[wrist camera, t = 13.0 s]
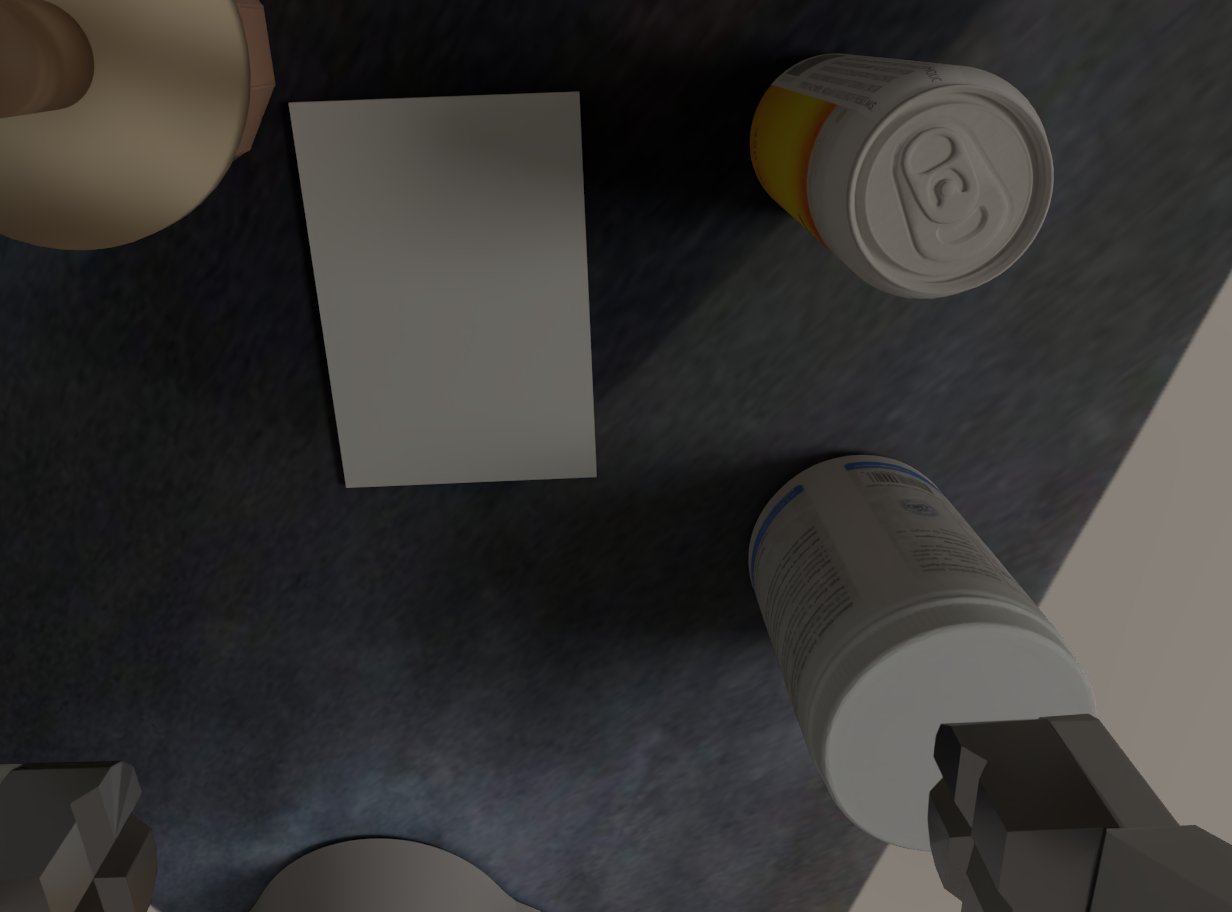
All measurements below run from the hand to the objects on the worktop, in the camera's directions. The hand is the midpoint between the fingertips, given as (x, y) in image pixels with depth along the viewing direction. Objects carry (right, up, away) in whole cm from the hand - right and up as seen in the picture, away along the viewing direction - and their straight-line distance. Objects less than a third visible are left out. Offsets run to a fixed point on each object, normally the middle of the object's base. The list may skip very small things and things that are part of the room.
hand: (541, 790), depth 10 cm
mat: (-6, +10, +32) cm, 34 cm away
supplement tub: (+12, 0, +37) cm, 39 cm away
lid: (-17, +16, +22) cm, 32 cm away
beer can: (+9, +16, +30) cm, 35 cm away
